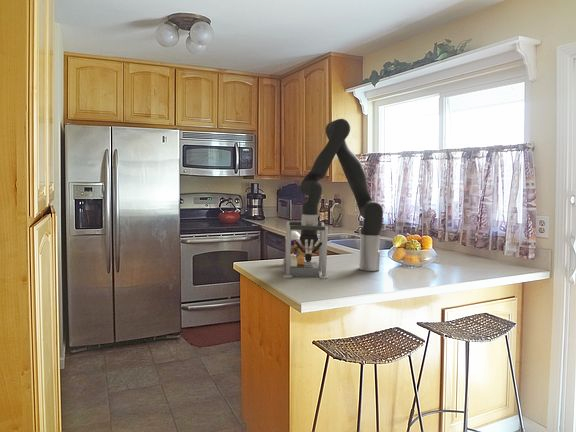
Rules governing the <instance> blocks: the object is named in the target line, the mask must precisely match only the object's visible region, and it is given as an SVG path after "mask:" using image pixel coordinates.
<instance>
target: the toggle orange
mask: <svg viewBox="0 0 576 432" xmlns="http://www.w3.org/2000/svg"><path fill="white" fill-rule="evenodd" d="M304 262H305V256H303V255H300V257H298V260H297V263H298V264H304Z"/></svg>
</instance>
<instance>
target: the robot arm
mask: <svg viewBox="0 0 576 432" xmlns="http://www.w3.org/2000/svg"><path fill="white" fill-rule="evenodd" d="M350 132H351V125H350V122H349V121H348V120H347V119H345V118H338V119H335V120H332V121H331V122H328V123H327V124H326V126H325V134H326V137H327V139H328V142H327V143H326V145H325V146H324V147H323V149H322V150H321V151H320V153H319V154H318V155H317V157H316V158H315V161H314V163H313V165H312V166H311V169H310V171H308V173H307V174H306V176H305V177H304V178H303V179H302V181H301V183H300V185H299V191H300V193H301V194H302V195H303V196H307V200H306V201H304V202H302V208H301V209H302V210H301V211H302V212H301V219H300V220H301V221H300V222H301V226H318V222H319V219H318V217H319V216H318V213H319V212H318V211H319V208H318V206H319V204H320V200H321V196H322V192H323V188H322V187H323V186H322V184H321V183H320V182H319V181H320V180H323V179H324V178H325V176H326V175H327V173H328V171H329V168H330V166H331V164H332V162H333V161H334V158H335V156H337V159H338V161H339V164H340V166H341V168H342V171H343V174H344V176H345V179H346V181H347V182H348V185H349V187H350V189H351V192H352V194H353V196H354V198H355V202H356V205H357V209H358V212H359V214H360V216H361V217H362V218H363V225H362V227H361V229H360V237H359V238H360V242H359V259H358V260H359V261H358V269H359V270H361V271H367V272H375V271H380V261H381V259H380V258H381V251H380V238H381V237H380V236H381V231H382V225H383V216H384V215H383V214H384V210H383V207H382V205H381V204H380V203H379V202H376V201H374V200H373V199H372V197H371V194H370V192H369V190H368V185H367V184H368V183H367V176H366V172H365V169H364V167H363V164H362V162H361V160H360V159H359V158H358V156H357V155H356V154H355V153H354V152H353V151H352V149H350V147H349V146H348V144H347V141H346V139H347V138H348V136H349V135H350ZM300 241H301V243H300ZM295 243H296V245H297V246H298V247H299V249H300V250H301V252H300V253H303V254H304V261H305V262H312V255H313V254H315V253H316V252H317V251H319V248H320V246H321V245H322V242H320V239H319V237H318V230H300V239H299V240H298V241H295ZM300 244H301V245H300ZM302 245H303V246H304V248H303V247H302ZM315 245H316V246H315ZM314 246H315V247H314ZM313 247H314V248H313Z"/></svg>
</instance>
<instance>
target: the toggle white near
mask: <svg viewBox="0 0 576 432" xmlns="http://www.w3.org/2000/svg"><path fill="white" fill-rule="evenodd" d="M290 266H297V259H295V258H290Z"/></svg>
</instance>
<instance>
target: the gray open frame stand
mask: <svg viewBox="0 0 576 432" xmlns="http://www.w3.org/2000/svg"><path fill="white" fill-rule="evenodd" d="M293 225H294V226H293ZM328 228H329V226H325V223H324V222H322V221H321V222H320V221H318V226H301V221H286V229H285V231H286V233H285V237H286V248H285V259H286V275H283V274H282V275H283V278H287V279H289V278H290V279H291V278H293V276H292V275H290V256H291V231H293V230H294V231H301V230H317V231H319V241H320V242H322V245H321V246H320V248H319V249H318V266H319V272H321V274H319V277H318V278H319V279H324V280H326V279H329V275H327V261H328V260H327V259H328V258H327V257H328V235H329V234H328V230H329V229H328Z"/></svg>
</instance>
